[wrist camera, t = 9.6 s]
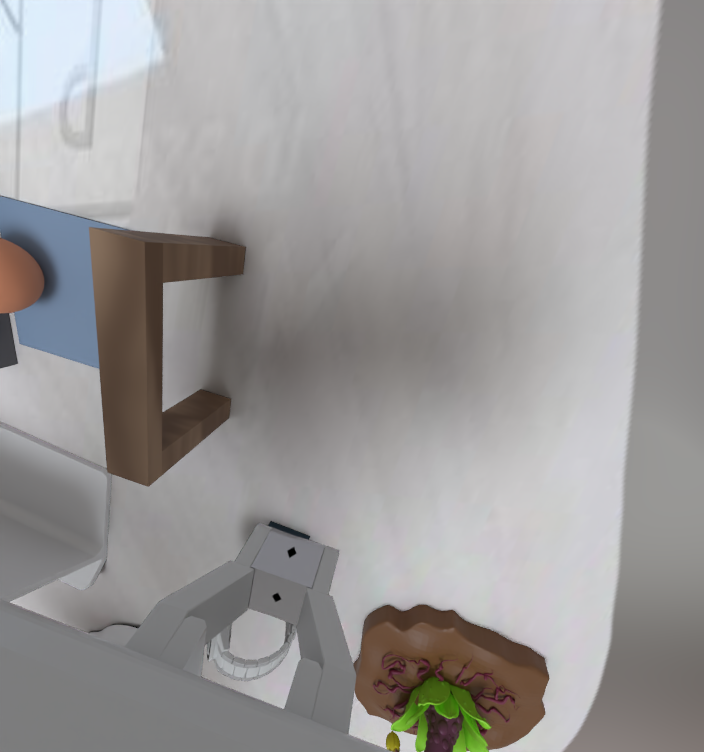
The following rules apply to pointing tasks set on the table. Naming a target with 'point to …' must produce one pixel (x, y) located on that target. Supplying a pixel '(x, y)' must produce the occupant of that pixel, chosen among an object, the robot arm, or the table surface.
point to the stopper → (6, 342)
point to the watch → (237, 665)
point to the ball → (18, 278)
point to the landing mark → (56, 279)
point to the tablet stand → (49, 515)
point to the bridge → (149, 346)
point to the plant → (447, 681)
